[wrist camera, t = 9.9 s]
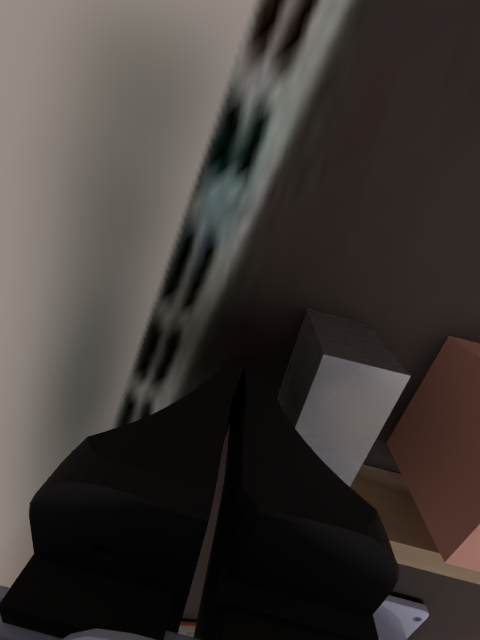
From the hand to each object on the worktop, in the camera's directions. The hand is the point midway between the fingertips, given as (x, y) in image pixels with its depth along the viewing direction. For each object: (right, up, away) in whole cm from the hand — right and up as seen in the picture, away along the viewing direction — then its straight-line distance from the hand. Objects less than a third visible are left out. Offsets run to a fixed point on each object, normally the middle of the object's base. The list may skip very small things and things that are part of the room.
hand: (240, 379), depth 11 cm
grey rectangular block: (+3, 0, +2) cm, 4 cm away
